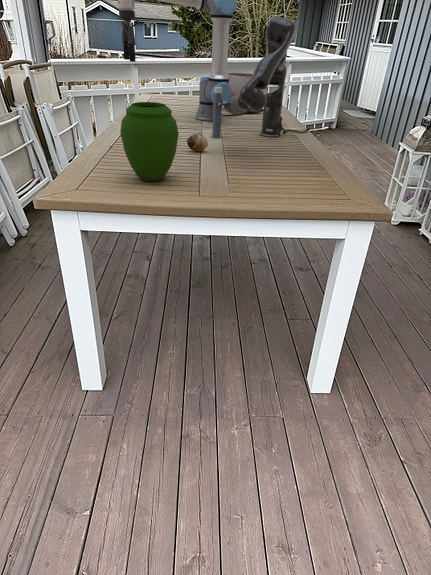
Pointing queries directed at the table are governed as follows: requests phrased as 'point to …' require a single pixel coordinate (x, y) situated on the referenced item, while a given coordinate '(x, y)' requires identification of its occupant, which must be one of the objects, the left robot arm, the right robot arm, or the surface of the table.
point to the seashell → (197, 142)
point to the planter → (239, 83)
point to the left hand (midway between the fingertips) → (129, 60)
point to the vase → (149, 139)
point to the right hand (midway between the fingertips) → (227, 109)
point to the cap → (218, 89)
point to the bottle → (216, 117)
